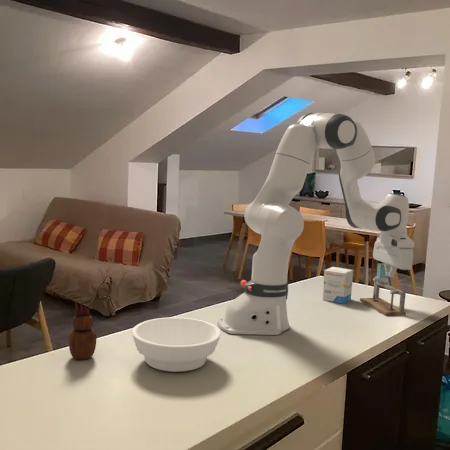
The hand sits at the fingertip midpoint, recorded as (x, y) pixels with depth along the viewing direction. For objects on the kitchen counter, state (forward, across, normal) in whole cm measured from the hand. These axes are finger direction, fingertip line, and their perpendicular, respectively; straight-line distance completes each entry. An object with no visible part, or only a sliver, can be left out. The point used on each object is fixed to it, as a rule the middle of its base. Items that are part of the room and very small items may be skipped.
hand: (389, 276), depth 196 cm
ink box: (+12, -12, -14) cm, 22 cm away
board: (+11, 0, -2) cm, 12 cm away
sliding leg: (+10, -6, 0) cm, 11 cm away
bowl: (+12, +39, -85) cm, 94 cm away
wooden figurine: (+12, +32, -108) cm, 113 cm away
